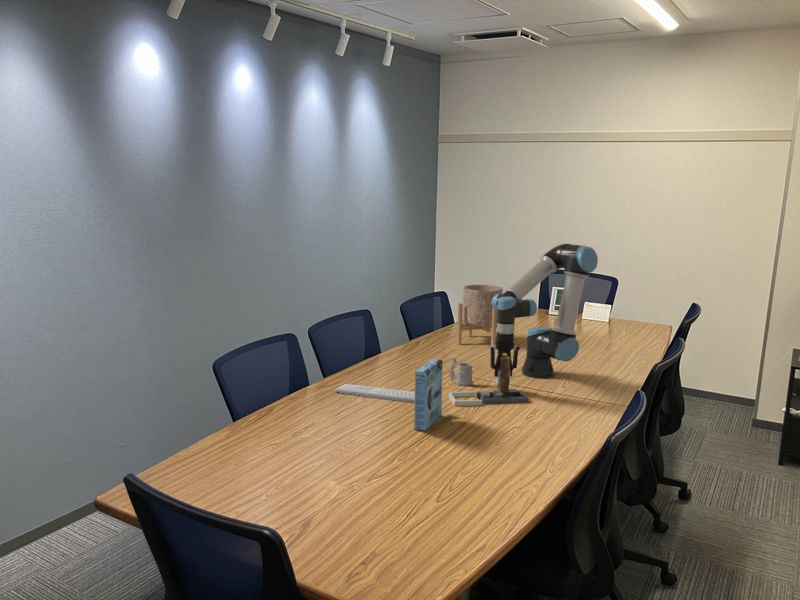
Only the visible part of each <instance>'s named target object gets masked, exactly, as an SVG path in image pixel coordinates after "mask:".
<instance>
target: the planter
mask: <svg viewBox="0 0 800 600" xmlns="http://www.w3.org/2000/svg"><path fill="white" fill-rule="evenodd" d="M503 291H504V288H503V287H501V286H498V285H491V284H468V285H464V286H463V293H462V294H463V297H462V302H457V303H458V304H457V306H458V307H457V330H456V331H457V334H456V335H457V336H456V344H457V345H459V346H460V345H462V333H463V331H467V338H472V337H473V335H472V334H473V331H475V330H482V331H484V332H487V333H488V334H491V335H490V336H491V337H490V346H494V345H495V343H496V335H497V312H498V310H496V309H494V308H493V307H492V298H493V297H494V296H495V295H496V294H503V293H504V292H503Z"/></svg>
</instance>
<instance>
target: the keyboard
mask: <svg viewBox="0 0 800 600" xmlns="http://www.w3.org/2000/svg"><path fill="white" fill-rule="evenodd" d="M334 391H335V392H336V393H337V392H339V393H338V394H342V393H344V394H343V395H350V394H352V395H351V396H358V395H360V396H359V397H367V398H375V399H382V400H387V401H388V400H389V401H390V400H391V401H395V402H396V401H397V402H403V403H404V402H407V403H412V404H415V391H408V390H407V391H406V390H400V389H391V388H390V389H389V388H383V387H374V386H367V385H356V384H348V383H345V384H343V385H340V386H338V387H336V388H334Z"/></svg>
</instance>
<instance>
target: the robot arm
mask: <svg viewBox="0 0 800 600" xmlns="http://www.w3.org/2000/svg"><path fill="white" fill-rule="evenodd" d="M598 258H599V257H598V254H597V253H596V251H595V249H594V248H593V247H591V246H587V245H582V244H581V245H579V244H571V243H563V244H562V243H561V244H559V245H556V246H554V247H553V248H551V249H550V250H548V251H547V252H546V253H544V254H543V255H542V256H540V260H539V261H538V262H537V263H536V264H535V265H533V267H532V268H531V269H529V270H528V271H527V272H526V273H525V274H524V275H523V276H522V277H520V278H519V279H518V280H516V282H515V283H514V284H513V285H511V286H510V287H509V288H508V289H507V290H505V292H503V294H496V295H495V296H494V297H493V298H492V307H493V308H494V309H496V310H498V312H497V328H496V343H495V345H494V346H491V345H489V347H488V348H489V351H490V362H489V363H490V364H489V365H490V368H491V369H493V370H494V371H493V373H494V375H493V376H494V378H495V384H496V385H497V384H498V385H499V382H500V370H499V365H500V359H501V357H502V355H503V354H507V356H508V357H510V373H509V385H510V384H511V382H510V381H511V377H512V376H513V370H514V369H517V367H518V357H519V351H520V349H521V348H520V346H518V344H517V345H516V344H515V343H514V340H515V339H514V338H515V334H514V332H515V323H516V322H515V321H516V320H515V319H518V318H529V317H532V316H534V315H536V313H537V311H538V310H537V309H538V307H537V306H538V305H537V303H536V301H535V300H534V299H528V298H526V299H523V298H525V297H526V296H527V295H528V294H529V293H530V292H531V291H532V290H534V289H535V288H536V287H537V286H538V285H539V284H540V283H541V282H543V281H544V280H545V279H546V278H547V277H548V276H549V275H550V274H551V273H552V274H553V273H556V272H557V271H558V270H561V269H563V273H564V275H565V280H564V285H563V289H562V294H561V299H560V304H559V309H558V313H557V318H556V321H555V326H553V327H550V326H535V327H530V328H528V330H527V335H526V357H525V360H524V362H523V365H522V367H521V373H522V375H524V376H525V377H530V378H536V379H546V378H551V377H553V376H554V372H555V371H554V367H553V362H552V359H555V360H557V361H560V362H570V361H571V360H573V359H574V358H576V356H577V355H578V352H579V350H580V343H579V341H578V340H577V333H576V331H575V326H576V322H577V317H578V314H579V313H578V312H579V309H580V303H581V298H582V294H583V289H584V285H585V282H586V281H585V280H586V279H588V278H589V277H590V273H592V272H594V271H595V270H596V269H597V267H598V261H599V260H598ZM496 350H497V356H496V352H495V351H496ZM512 350H513V356H512ZM495 356H496V357H495Z"/></svg>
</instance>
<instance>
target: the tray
mask: <svg viewBox="0 0 800 600" xmlns="http://www.w3.org/2000/svg"><path fill="white" fill-rule="evenodd" d="M447 395H448V398H449V400H450V401H451V403H452V404H453V406H454V407H463V406H464V407H469V406H483V404H482V400H479V399H472V400H471V399H468V400H466V399H465V400H464V399H463V400H457V399H456V398H469V397H476V392H475V391H474V390H471V391H448V394H447Z"/></svg>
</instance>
